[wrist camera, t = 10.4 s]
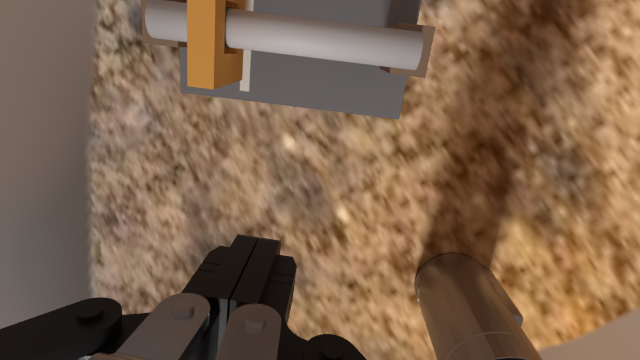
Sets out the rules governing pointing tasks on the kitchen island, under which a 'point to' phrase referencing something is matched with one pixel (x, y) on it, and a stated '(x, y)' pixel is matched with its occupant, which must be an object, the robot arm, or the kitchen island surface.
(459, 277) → the robot arm
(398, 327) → the kitchen island surface
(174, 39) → the pipe stand
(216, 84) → the orange square ring
